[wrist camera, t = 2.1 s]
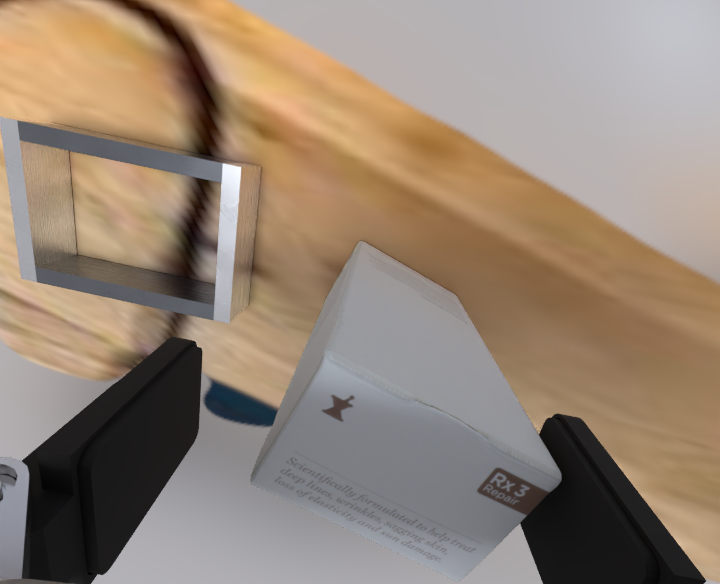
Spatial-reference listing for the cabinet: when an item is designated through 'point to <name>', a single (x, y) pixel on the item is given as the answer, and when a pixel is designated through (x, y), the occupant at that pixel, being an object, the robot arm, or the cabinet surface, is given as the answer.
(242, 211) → the socket collar
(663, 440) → the cabinet surface
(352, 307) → the skincare box
